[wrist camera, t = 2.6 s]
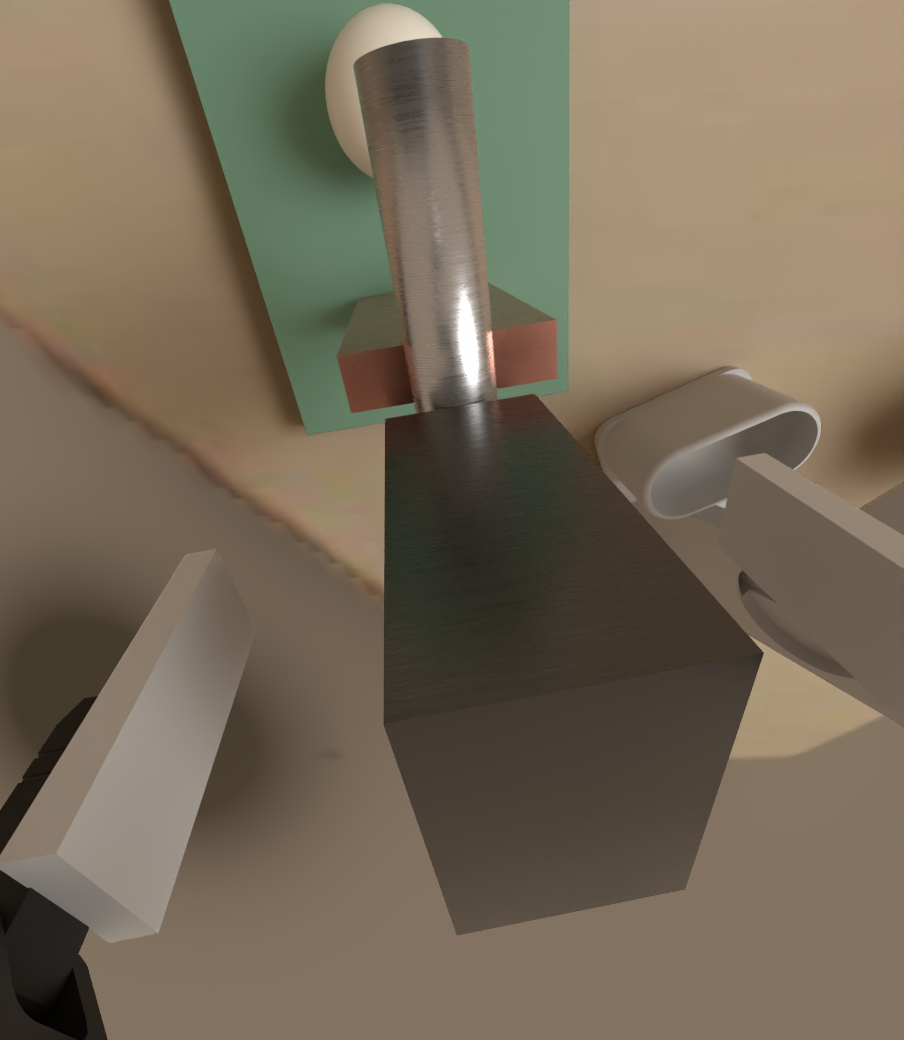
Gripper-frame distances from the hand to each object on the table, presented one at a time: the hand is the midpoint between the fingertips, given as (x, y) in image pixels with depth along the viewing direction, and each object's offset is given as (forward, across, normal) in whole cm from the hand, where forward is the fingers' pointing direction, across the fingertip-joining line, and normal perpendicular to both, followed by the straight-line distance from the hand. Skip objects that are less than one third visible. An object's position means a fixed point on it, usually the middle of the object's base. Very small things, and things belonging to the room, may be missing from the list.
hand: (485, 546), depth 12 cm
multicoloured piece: (+15, 0, +4) cm, 16 cm away
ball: (+13, 0, +11) cm, 17 cm away
